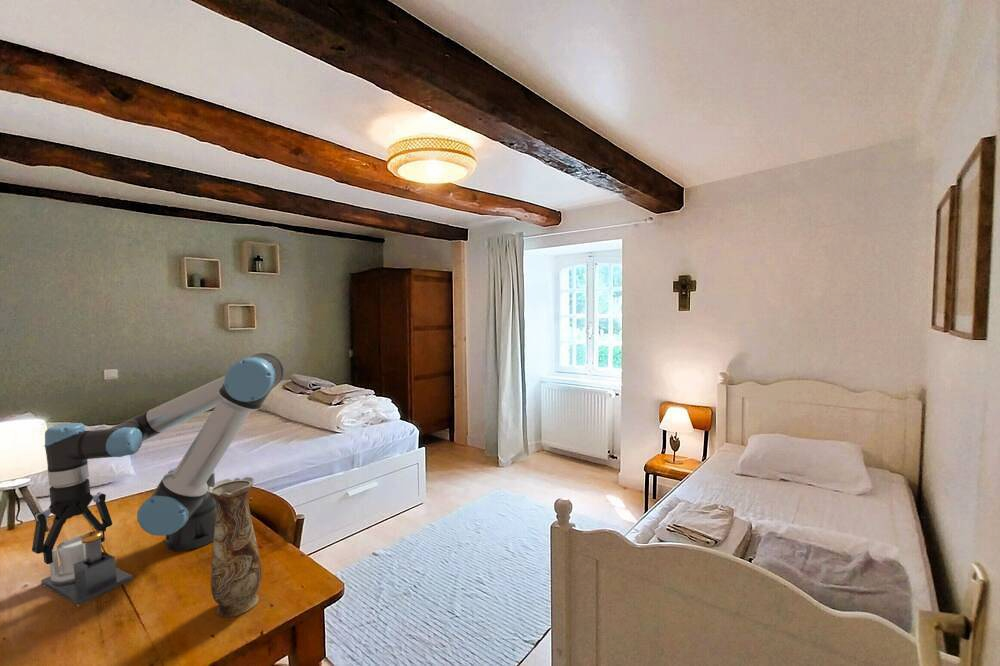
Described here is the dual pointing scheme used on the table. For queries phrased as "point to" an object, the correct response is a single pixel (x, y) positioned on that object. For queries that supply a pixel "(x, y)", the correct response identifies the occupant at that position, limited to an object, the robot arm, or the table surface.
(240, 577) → the vase
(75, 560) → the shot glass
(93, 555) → the gold capped peg
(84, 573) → the slotted base stand
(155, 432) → the robot arm
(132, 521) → the table surface
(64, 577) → the grey rounded flat piece
